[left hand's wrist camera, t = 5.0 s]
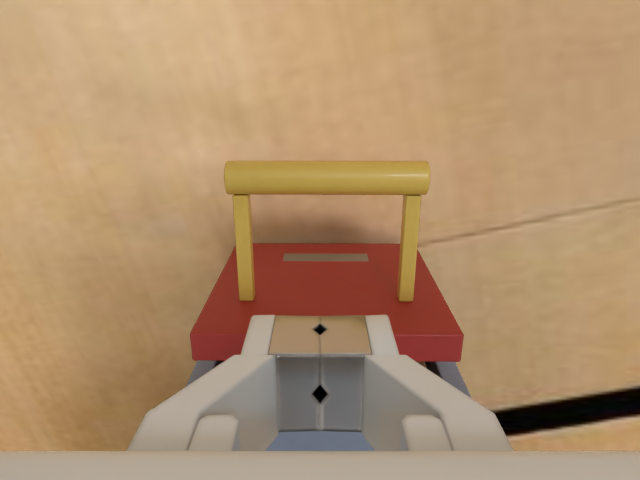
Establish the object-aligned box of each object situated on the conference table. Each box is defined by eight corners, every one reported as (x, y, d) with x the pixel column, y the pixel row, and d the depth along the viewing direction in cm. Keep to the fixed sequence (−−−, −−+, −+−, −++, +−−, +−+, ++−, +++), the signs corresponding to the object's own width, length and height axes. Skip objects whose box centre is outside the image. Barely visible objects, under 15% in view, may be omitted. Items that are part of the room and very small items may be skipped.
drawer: (229, 138, 24) (171, 176, 15) (422, 138, 24) (484, 177, 15) (250, 458, 31) (220, 615, 22) (398, 459, 31) (429, 616, 22)
